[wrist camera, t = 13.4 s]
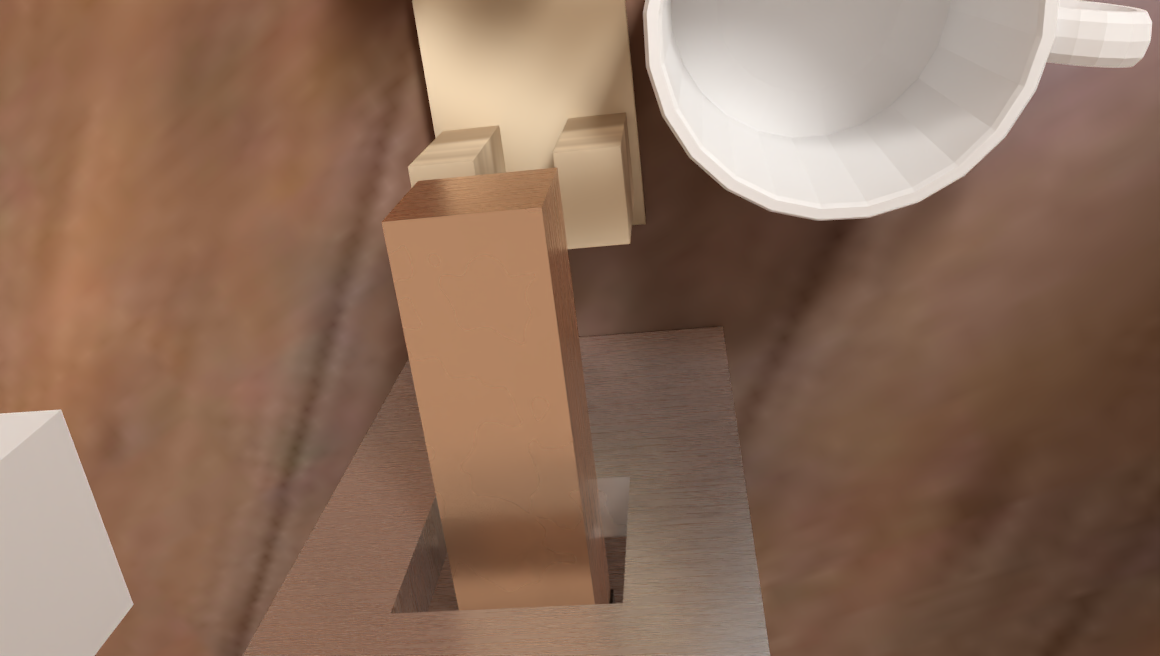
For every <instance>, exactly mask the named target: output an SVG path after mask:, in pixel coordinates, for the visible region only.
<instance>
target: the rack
mask: <svg viewBox="0 0 1160 656" xmlns="http://www.w3.org/2000/svg"><path fill="white" fill-rule="evenodd" d="M412 4H413V10H414V15H415V21H416V27H417V33H418V39H419V45H420V51H421V56H422V62H423V68H424V74H425V80H426V86H427V91H428V97H429V103H430V109H431V115H432V121H433V127H434V132H435V138H436V139H435V140H434V141H433V142H432V143H431V144H430V145H429V146H428V147H427V148H426V149H425V150H424V151H423V152H422V153H421V154H420V155H419V156H418V157H417V158H416V159H415V160H414V161H413V162H412V163H411V164H410V165H409V166H408V171H409V176H410V182H411V187H413V186H414V185H415V184H416V183H417V182H418V181H422V180H433V179H443V178H453V177H464V176H474V175H484V174H495V173H505V172H516V171H526V170H536V169H547V168H558V176H559V184H560V192H561V200H562V208H563V216H564V224H565V232H566V240H567V248H568V249H576V248H587V247H599V246H611V245H622V244H630V239H631V229H632V225H642V224H645V223H646V215H645V204H644V193H643V182H642V172H641V161H640V150H639V139H638V129H637V118H636V107H635V96H634V85H633V75H632V64H631V53H630V42H629V32H628V21H627V10H626V0H412Z"/></svg>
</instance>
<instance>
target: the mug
mask: <svg viewBox="0 0 1160 656" xmlns="http://www.w3.org/2000/svg"><path fill="white" fill-rule="evenodd" d="M643 24H644V42H645V60H646V69H647V72H648V75H649V78H650V81H651V84H652V87H653V90H654V93H655V96H656V99H657V103H658V106H659V109H660V112H661V115H662V117H663V118H664V120H665V121H666V123H667V124H668V126H669V128H670V129H671V131H672V132H673V134H674V135H675V137H676V138H677V140H678V141H679V143H680V144H681V146H682V147H683V149H684V151H685V152H686V154H687V155H688V157H689V158H690V159H691V160H692V161H694V162H695V163H696V164H697V165H698V166H699V167H700V168H701V169H703V170H704V171H705V172H706V173H707V174H708V175H709V176H711V177H712V178H713V179H714V180H715V181H716V182H717V183H718V184H720V185H721V186H722V187H723V188H724V189H725V190H727V191H729V192H731V193H733V194H735V195H737V196H739V197H741V198H743V199H745V200H747V201H749V202H751V203H753V204H755V205H758V206H760V207H762V208H764V209H766V210H768V211H770V212H775V213H780V214H785V215H790V216H795V217H800V218H806V219H811V220H816V221H826V220H844V219H862V218H870V217H874V216H877V215H880V214H884V213H887V212H890V211H893V210H897V209H900V208H903V207H907V206H910V205H913V204H916V203H919V202H921V201H922V200H924V199H926V198H928V197H929V196H931V195H933V194H934V193H936V192H938V191H940V190H941V189H943V188H945V187H946V186H948V185H950V184H951V183H953V182H955V181H957V180H958V179H960V178H962V177H963V176H965V175H966V174H967V173H968V172H969V171H970V170H971V169H972V168H973V167H975V166H976V165H977V164H978V163H979V162H980V161H981V160H982V159H983V158H984V157H985V156H986V155H987V154H988V153H989V152H990V151H991V150H993V149H994V148H995V147H996V146H997V145H998V144H999V143H1000V142H1001V141H1002V140H1003V139H1004V138H1005V137H1006V135H1007V134H1008V132H1009V131H1010V129H1011V128H1012V126H1013V125H1014V123H1015V122H1016V120H1017V119H1018V117H1019V116H1020V114H1021V113H1022V111H1023V110H1024V108H1025V107H1026V105H1027V104H1028V102H1029V101H1030V99H1031V98H1032V96H1033V95H1034V93H1035V92H1036V90H1037V87H1038V84H1039V81H1040V79H1041V76H1042V73H1043V70H1044V68H1045V65H1046V62H1049V63H1057V64H1066V65H1076V66H1088V67H1108V68H1124V67H1133V66H1134V65H1135V64H1136V63H1138V62H1139V61H1140V60H1141V59H1142V58H1143V57H1144V55H1145V52H1146V50H1147V48H1148V46H1149V44H1150V41H1151V31H1152V21H1151V19H1150V17H1149V14H1148V12H1147V11H1146V10H1143V9H1139V8H1134V7H1128V6H1121V5H1114V4H1107V3H1098V2H1090V1H1081V0H645V5H644V10H643Z"/></svg>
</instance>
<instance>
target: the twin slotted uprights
mask: <svg viewBox="0 0 1160 656" xmlns="http://www.w3.org/2000/svg"><path fill="white" fill-rule="evenodd" d="M579 343H580V351H581V359H582V367H583V375H584V382H585V390H586V398H587V406H588V414H589V422H590V430H591V438H592V446H593V454H594V462H595V470H596V478H597V486H598V494H599V501H600V509H601V517H602V525H603V533H604V541H605V549H606V557H607V565H608V573H609V581H610V589H614V597H615V603H614V604H592V605H570V606H548V607H526V608H504V609H481V610H459V608H458V603H457V598H456V593H455V588H454V583H453V578H452V573H451V568H450V563H449V558H448V553H447V548H446V543H445V538H444V533H443V528H442V523H441V518H440V513H439V508H438V503H437V498H436V493H435V488H434V483H433V478H432V473H431V467H430V462H429V457H428V452H427V447H426V442H425V437H424V432H423V427H422V422H421V417H420V412H419V407H418V402H417V397H416V392H415V387H414V382H413V377H412V372H411V367H410V362H409V359H408V360H407V362H406V364H405V366H404V367H403V369H402V371H401V373H400V375H399V376H398V378H397V380H396V382H395V384H394V385H393V387H392V389H391V391H390V393H389V394H388V396H387V398H386V400H385V401H384V403H383V405H382V407H381V409H380V410H379V412H378V414H377V416H376V418H375V419H374V421H373V423H372V425H371V427H370V428H369V430H368V432H367V434H366V435H365V437H364V439H363V441H362V443H361V444H360V446H359V448H358V450H357V452H356V453H355V455H354V457H353V459H352V461H351V462H350V464H349V466H348V468H347V469H346V471H345V473H344V475H343V477H342V478H341V480H340V482H339V484H338V486H337V487H336V489H335V491H334V493H333V495H332V496H331V498H330V500H329V502H328V503H327V505H326V507H325V509H324V511H323V512H322V514H321V516H320V518H319V520H318V521H317V523H316V525H315V527H314V529H313V530H312V532H311V534H310V536H309V537H308V539H307V541H306V543H305V545H304V546H303V548H302V550H301V552H300V554H299V555H298V557H297V559H296V561H295V563H294V564H293V566H292V568H291V570H290V572H289V573H288V575H287V577H286V579H285V580H284V582H283V584H282V586H281V588H280V589H279V591H278V593H277V595H276V597H275V598H274V600H273V602H272V604H271V606H270V607H269V609H268V611H267V613H266V614H265V616H264V618H263V620H262V622H261V623H260V625H259V627H258V629H257V631H256V632H255V634H254V636H253V638H252V640H251V641H250V643H249V645H248V647H247V648H246V650H245V652H244V654H243V656H770V651H769V644H768V637H767V630H766V623H765V616H764V609H763V602H762V595H761V589H760V582H759V575H758V568H757V561H756V554H755V547H754V540H753V533H752V526H751V519H750V512H749V505H748V499H747V492H746V485H745V478H744V471H743V464H742V457H741V450H740V443H739V436H738V429H737V422H736V415H735V408H734V402H733V395H732V388H731V381H730V374H729V367H728V360H727V353H726V346H725V339H724V332H723V326H721V327H708V328H695V329H682V330H669V331H656V332H642V333H629V334H616V335H603V336H590V337H579Z"/></svg>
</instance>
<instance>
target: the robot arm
mask: <svg viewBox="0 0 1160 656" xmlns="http://www.w3.org/2000/svg"><path fill="white" fill-rule="evenodd" d="M132 606H133V602H132V599H131V597H130V594H129V591H128V589H127V586H126V583H125V581H124V578H123V575H122V573H121V570H120V567H119V564H118V562H117V559H116V556H115V554H114V551H113V548H112V546H111V543H110V540H109V537H108V535H107V532H106V529H105V527H104V524H103V521H102V519H101V516H100V513H99V510H98V508H97V505H96V502H95V500H94V497H93V494H92V492H91V489H90V486H89V484H88V481H87V478H86V475H85V473H84V470H83V467H82V465H81V462H80V459H79V457H78V454H77V451H76V448H75V446H74V443H73V440H72V438H71V435H70V432H69V430H68V427H67V424H66V421H65V419H64V416H63V413H62V411H61V410H48V411H33V412H18V413H3V414H0V656H95V654H96V653H97V652H98V650H99V649H100V648H101V646H102V645H103V644H104V643H105V641H106V640H107V639H108V637H109V636H110V635H111V633H112V632H113V631H114V630H115V628H116V627H117V626H118V624H119V623H120V622H121V620H122V619H123V618H124V616H125V615H126V614H127V613H128V611H129V610H130V609H131V607H132Z"/></svg>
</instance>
